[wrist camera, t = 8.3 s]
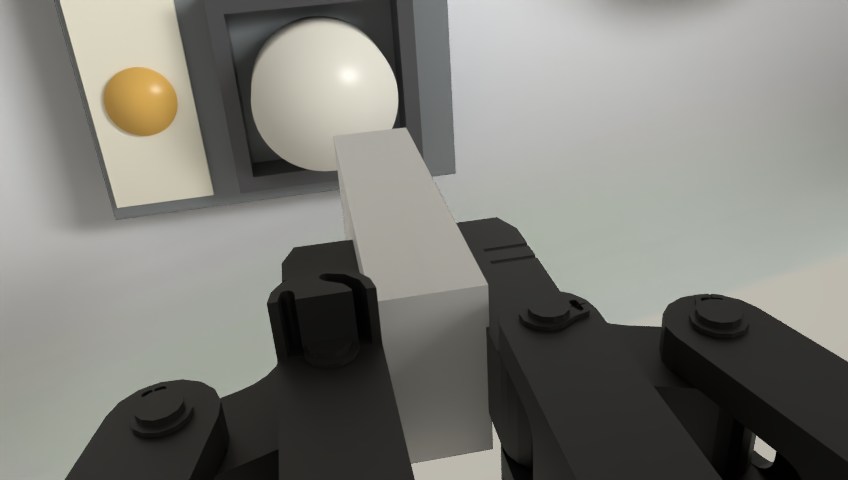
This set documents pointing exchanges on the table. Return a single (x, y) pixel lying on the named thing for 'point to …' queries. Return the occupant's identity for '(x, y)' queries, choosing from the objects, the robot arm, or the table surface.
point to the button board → (230, 93)
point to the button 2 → (320, 89)
